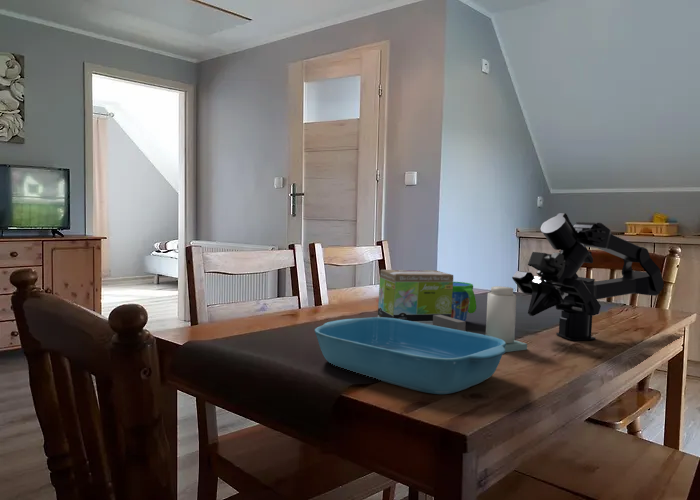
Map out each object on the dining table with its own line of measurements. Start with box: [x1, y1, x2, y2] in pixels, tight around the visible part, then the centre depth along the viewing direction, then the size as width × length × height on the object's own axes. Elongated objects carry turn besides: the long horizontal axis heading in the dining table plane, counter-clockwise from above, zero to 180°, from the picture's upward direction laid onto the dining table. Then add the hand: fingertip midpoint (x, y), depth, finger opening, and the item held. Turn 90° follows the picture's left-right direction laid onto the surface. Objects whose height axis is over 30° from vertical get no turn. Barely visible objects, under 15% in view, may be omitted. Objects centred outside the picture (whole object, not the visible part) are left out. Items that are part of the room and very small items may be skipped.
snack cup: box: [451, 281, 477, 322], centre depth 149 cm, size 16×10×10 cm
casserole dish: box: [314, 316, 506, 395], centre depth 101 cm, size 37×22×7 cm, turn 46°
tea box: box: [377, 269, 454, 325], centre depth 133 cm, size 15×10×15 cm
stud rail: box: [433, 315, 528, 353], centre depth 119 cm, size 19×8×7 cm, turn 119°
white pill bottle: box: [485, 285, 517, 343], centre depth 121 cm, size 6×6×11 cm
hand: (530, 314), depth 125 cm, fingers closed
